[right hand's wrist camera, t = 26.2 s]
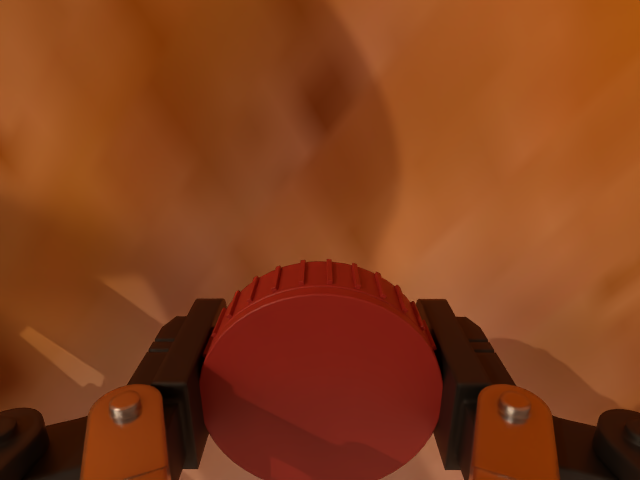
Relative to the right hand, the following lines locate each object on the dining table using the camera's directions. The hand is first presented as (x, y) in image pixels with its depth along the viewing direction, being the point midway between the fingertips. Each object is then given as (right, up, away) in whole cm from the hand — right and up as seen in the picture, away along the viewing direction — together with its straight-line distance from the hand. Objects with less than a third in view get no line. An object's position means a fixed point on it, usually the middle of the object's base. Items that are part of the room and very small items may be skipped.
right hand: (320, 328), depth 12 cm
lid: (0, -1, -2) cm, 2 cm away
